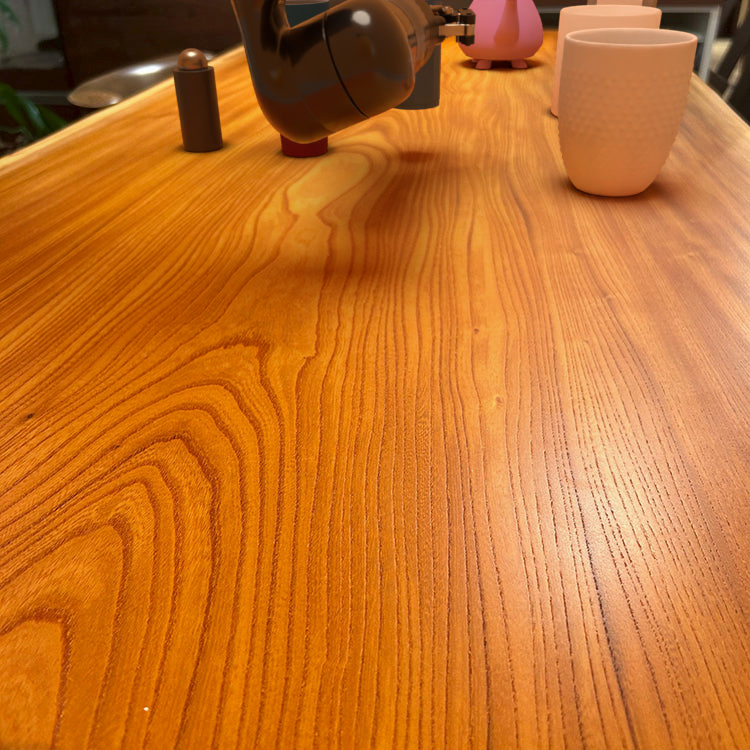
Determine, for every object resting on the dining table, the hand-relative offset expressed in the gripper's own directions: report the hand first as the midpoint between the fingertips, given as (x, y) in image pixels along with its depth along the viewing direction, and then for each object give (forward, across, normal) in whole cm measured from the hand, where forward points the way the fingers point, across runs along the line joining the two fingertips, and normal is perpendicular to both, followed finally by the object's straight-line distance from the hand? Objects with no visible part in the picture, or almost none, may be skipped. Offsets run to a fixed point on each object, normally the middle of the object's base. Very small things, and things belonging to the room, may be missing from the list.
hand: (417, 17), depth 78 cm
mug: (-9, -20, +14) cm, 26 cm away
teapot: (+56, -5, +13) cm, 57 cm away
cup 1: (-2, +12, +13) cm, 18 cm away
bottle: (-3, 0, +8) cm, 8 cm away
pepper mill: (-2, +24, +13) cm, 28 cm away
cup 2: (+21, -20, +13) cm, 32 cm away
